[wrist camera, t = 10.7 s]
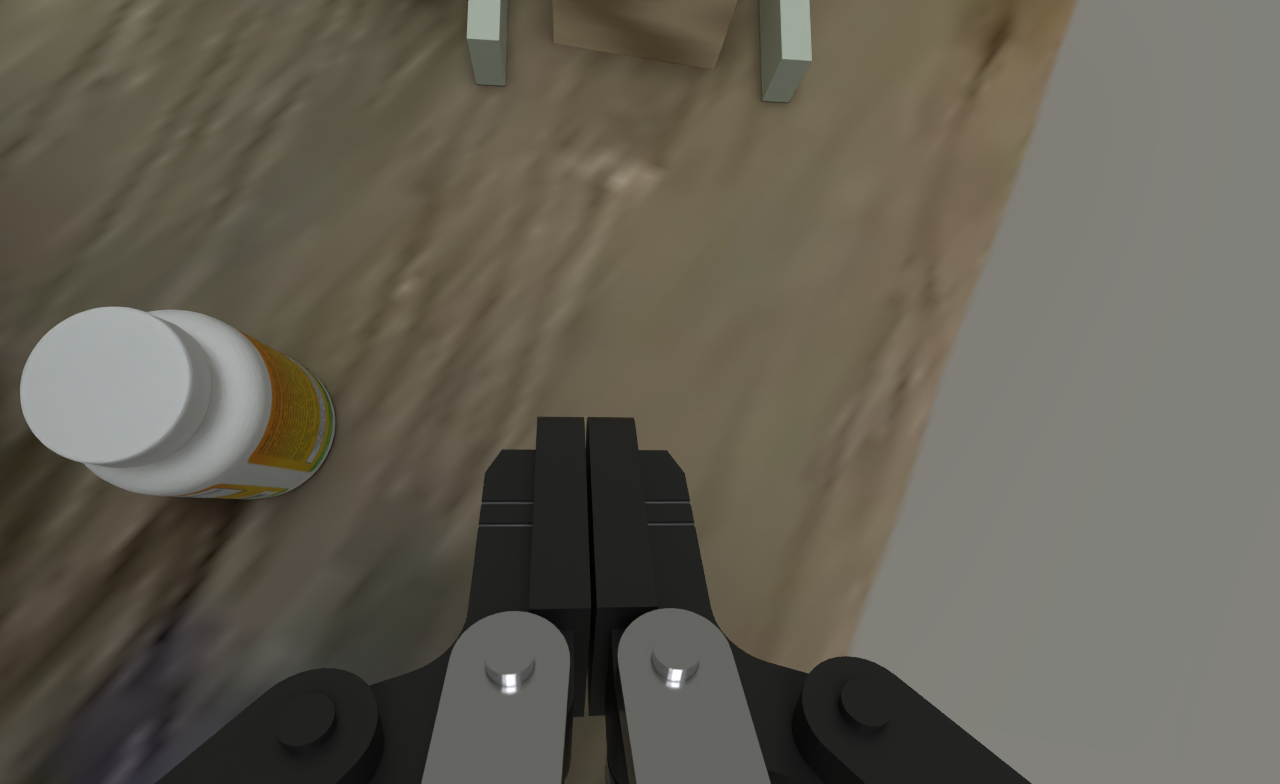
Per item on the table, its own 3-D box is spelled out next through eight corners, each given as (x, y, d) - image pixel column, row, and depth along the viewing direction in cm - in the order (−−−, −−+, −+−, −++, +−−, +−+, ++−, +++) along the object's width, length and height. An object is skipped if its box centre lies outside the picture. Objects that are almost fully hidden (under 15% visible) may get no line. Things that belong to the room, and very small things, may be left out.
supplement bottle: (282, 329, 28) (137, 235, 19) (367, 437, 28) (265, 399, 18) (158, 417, 27) (-63, 365, 18) (245, 530, 27) (69, 540, 17)
